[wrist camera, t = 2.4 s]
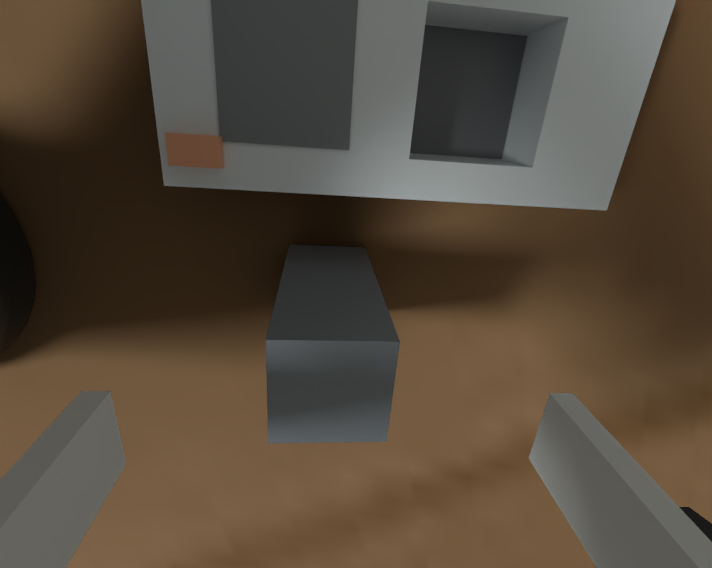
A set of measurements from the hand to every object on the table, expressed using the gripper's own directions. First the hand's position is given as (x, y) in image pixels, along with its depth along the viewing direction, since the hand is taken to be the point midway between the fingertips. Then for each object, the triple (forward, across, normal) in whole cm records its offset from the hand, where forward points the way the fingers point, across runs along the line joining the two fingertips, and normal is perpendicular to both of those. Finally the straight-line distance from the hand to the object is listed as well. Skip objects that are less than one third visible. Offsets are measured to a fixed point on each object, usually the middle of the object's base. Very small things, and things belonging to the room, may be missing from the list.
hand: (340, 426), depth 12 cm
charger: (+11, 0, 0) cm, 11 cm away
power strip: (+11, +3, +10) cm, 15 cm away
